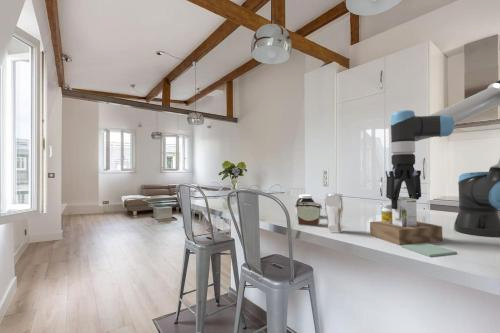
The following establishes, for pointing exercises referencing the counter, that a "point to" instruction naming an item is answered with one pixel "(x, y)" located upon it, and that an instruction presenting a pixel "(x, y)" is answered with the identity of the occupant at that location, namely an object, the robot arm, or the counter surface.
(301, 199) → the spread jar
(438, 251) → the sage rubber mat
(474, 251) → the counter surface
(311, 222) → the food container
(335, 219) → the beer glass
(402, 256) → the counter surface
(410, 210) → the syrup box
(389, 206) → the supplement bottle
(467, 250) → the counter surface
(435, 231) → the walnut block
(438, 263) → the counter surface
